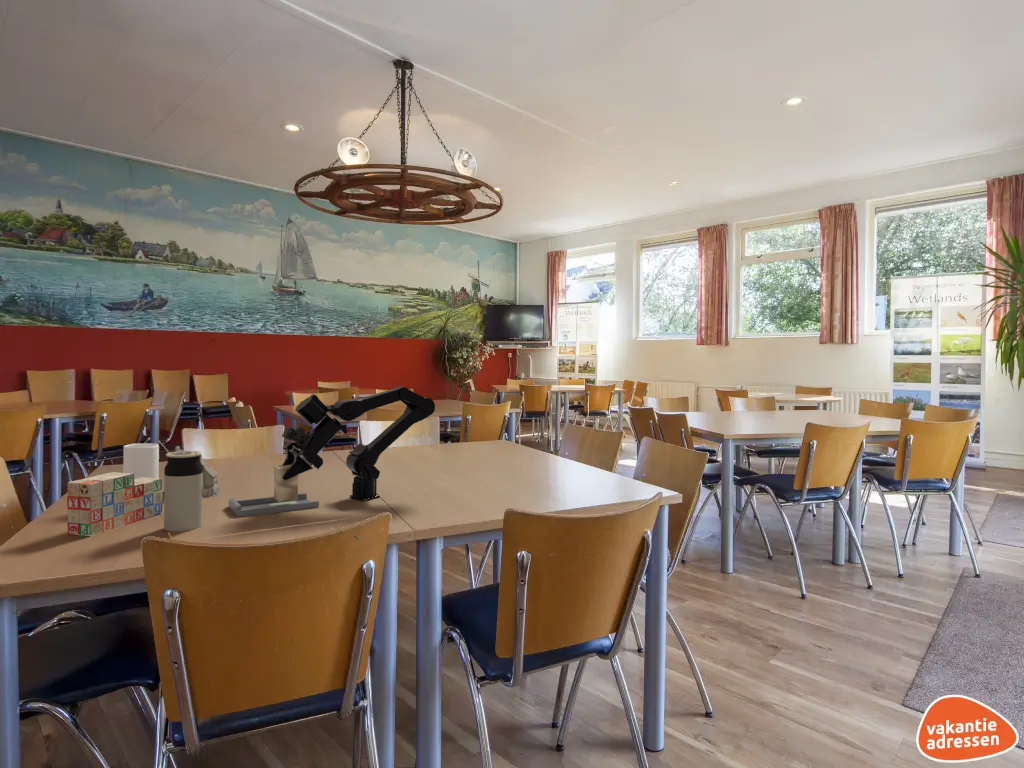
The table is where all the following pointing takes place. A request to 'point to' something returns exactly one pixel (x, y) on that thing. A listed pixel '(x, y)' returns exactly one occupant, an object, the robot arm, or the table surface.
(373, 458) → the robot arm
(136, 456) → the cup
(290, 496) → the maple block
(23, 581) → the table surface
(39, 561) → the table surface
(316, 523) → the table surface
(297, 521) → the table surface
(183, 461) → the travel mug
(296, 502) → the tray
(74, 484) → the stack of blocks
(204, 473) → the ceramic cottage
